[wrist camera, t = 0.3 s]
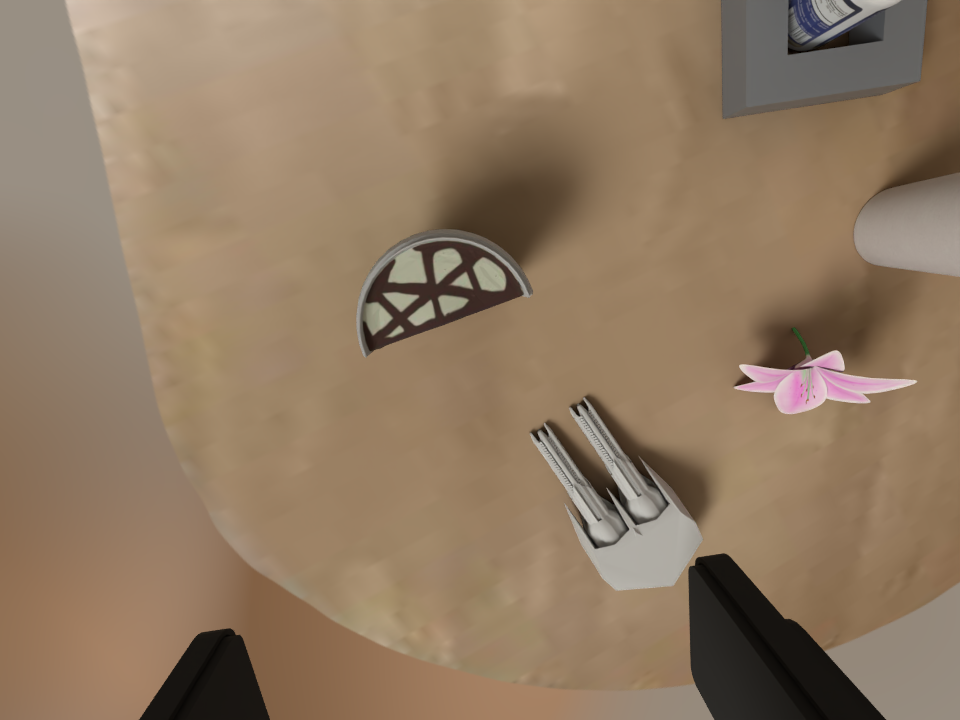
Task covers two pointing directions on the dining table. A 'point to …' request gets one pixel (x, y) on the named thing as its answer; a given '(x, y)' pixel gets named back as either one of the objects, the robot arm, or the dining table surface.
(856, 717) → the robot arm
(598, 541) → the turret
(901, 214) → the coffee cup
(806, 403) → the lily
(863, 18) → the pill bottle
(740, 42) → the bottle holder
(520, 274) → the food container
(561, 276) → the dining table surface
